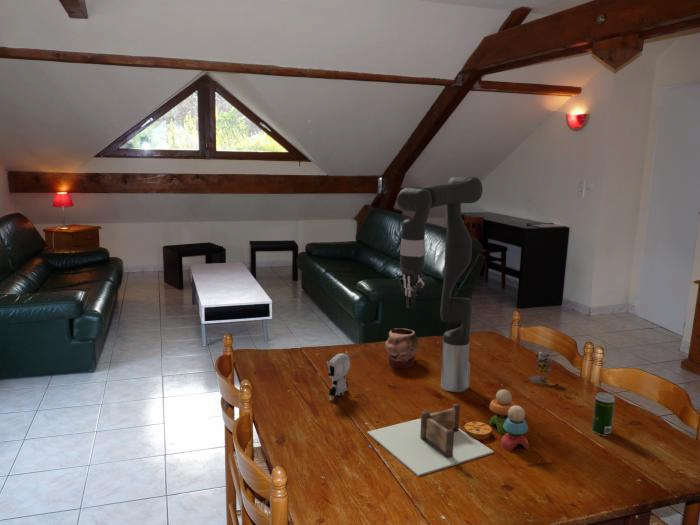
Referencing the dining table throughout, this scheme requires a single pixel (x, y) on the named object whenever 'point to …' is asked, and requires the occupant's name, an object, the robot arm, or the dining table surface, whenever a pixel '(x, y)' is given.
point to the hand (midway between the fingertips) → (410, 307)
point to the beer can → (603, 413)
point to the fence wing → (440, 436)
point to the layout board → (426, 447)
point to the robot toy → (338, 374)
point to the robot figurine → (541, 369)
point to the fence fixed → (441, 419)
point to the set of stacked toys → (503, 422)
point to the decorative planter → (401, 348)
